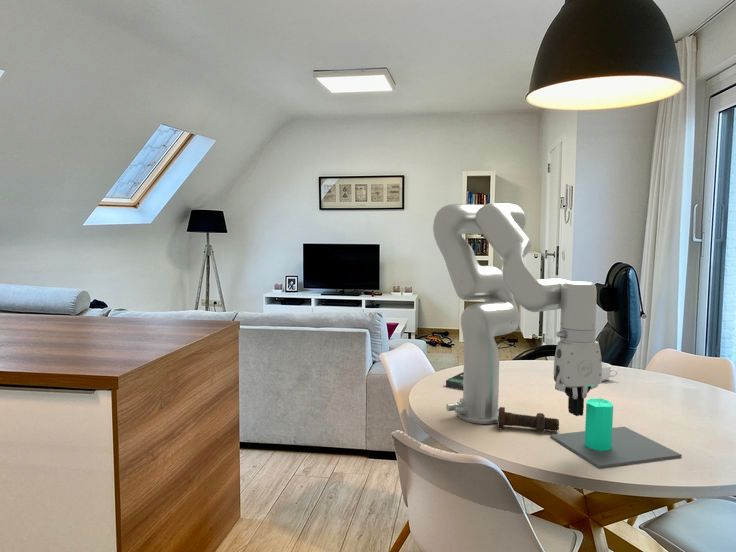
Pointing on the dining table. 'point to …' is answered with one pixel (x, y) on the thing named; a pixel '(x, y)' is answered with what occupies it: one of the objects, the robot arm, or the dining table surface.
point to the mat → (617, 448)
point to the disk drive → (456, 381)
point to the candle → (598, 424)
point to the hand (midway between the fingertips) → (575, 413)
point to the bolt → (527, 421)
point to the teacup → (607, 371)
